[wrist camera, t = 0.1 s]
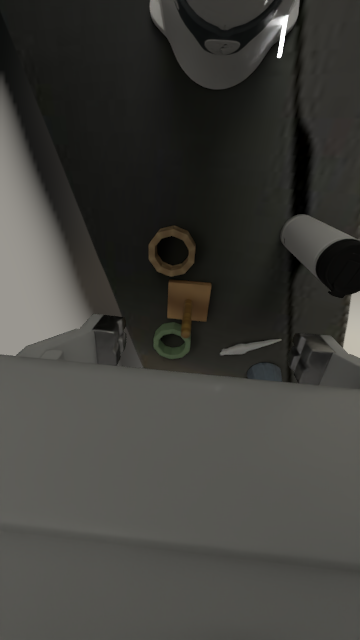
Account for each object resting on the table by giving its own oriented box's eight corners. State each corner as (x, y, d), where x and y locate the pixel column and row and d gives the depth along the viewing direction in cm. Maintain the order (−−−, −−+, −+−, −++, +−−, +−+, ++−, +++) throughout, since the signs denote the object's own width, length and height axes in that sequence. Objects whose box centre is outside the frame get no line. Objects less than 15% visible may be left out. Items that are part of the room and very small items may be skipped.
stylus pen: (220, 354, 63) (221, 359, 61) (218, 346, 61) (218, 351, 60) (281, 341, 59) (283, 346, 57) (279, 333, 58) (282, 337, 56)
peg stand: (169, 279, 52) (160, 312, 40) (211, 282, 52) (214, 317, 40) (167, 314, 57) (159, 353, 45) (206, 318, 57) (207, 358, 45)
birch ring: (151, 223, 46) (148, 226, 44) (197, 227, 46) (197, 230, 43) (151, 269, 51) (148, 274, 49) (192, 272, 51) (192, 278, 48)
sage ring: (155, 320, 58) (153, 327, 56) (192, 323, 58) (191, 330, 55) (155, 349, 63) (153, 357, 61) (189, 352, 63) (188, 360, 60)
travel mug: (272, 244, 47) (313, 290, 30) (291, 209, 43) (348, 238, 26) (302, 254, 47) (357, 304, 31) (322, 220, 44) (398, 256, 27)
